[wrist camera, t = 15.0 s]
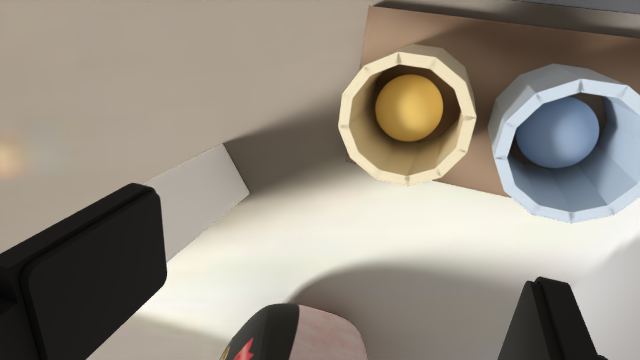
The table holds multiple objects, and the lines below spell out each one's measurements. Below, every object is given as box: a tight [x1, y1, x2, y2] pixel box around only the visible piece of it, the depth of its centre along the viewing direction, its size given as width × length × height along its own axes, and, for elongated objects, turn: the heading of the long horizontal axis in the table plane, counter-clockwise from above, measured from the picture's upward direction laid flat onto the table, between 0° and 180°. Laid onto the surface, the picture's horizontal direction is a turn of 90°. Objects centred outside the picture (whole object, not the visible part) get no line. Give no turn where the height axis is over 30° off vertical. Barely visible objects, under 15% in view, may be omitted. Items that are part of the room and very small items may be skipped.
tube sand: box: [338, 44, 477, 186], centre depth 30 cm, size 8×8×8 cm
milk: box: [141, 144, 250, 263], centre depth 34 cm, size 6×6×22 cm
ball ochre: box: [375, 74, 443, 142], centre depth 31 cm, size 5×5×5 cm
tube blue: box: [488, 64, 640, 223], centre depth 27 cm, size 8×8×8 cm
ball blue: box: [516, 96, 599, 168], centre depth 28 cm, size 5×5×5 cm
